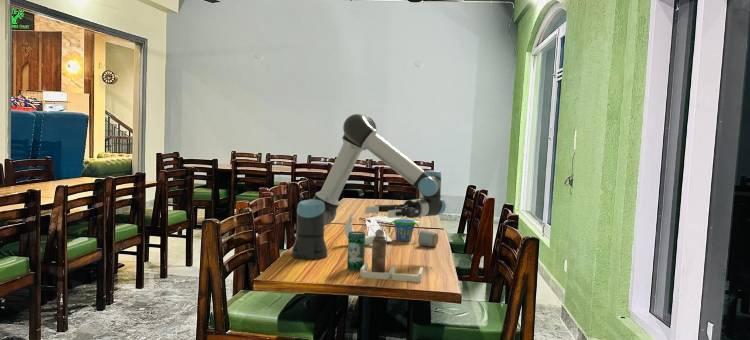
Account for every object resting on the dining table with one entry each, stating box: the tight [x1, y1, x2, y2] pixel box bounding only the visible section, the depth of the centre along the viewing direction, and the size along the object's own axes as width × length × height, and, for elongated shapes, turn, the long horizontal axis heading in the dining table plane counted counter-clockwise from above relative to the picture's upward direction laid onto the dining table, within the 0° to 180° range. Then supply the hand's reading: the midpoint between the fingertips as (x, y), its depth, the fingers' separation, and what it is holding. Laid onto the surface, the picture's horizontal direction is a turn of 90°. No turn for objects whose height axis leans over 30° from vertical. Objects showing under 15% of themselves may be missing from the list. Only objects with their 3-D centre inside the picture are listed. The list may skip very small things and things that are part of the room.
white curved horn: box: [343, 214, 385, 246], centre depth 262 cm, size 5×19×15 cm, turn 93°
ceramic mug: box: [417, 229, 439, 248], centre depth 268 cm, size 11×8×8 cm
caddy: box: [359, 262, 424, 283], centre depth 203 cm, size 22×10×4 cm, turn 81°
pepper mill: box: [370, 229, 387, 273], centre depth 204 cm, size 5×5×17 cm
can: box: [346, 230, 366, 272], centre depth 212 cm, size 6×6×15 cm
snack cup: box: [388, 218, 421, 243], centre depth 278 cm, size 16×10×10 cm
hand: (376, 212), depth 217 cm, fingers open, 13 cm apart
